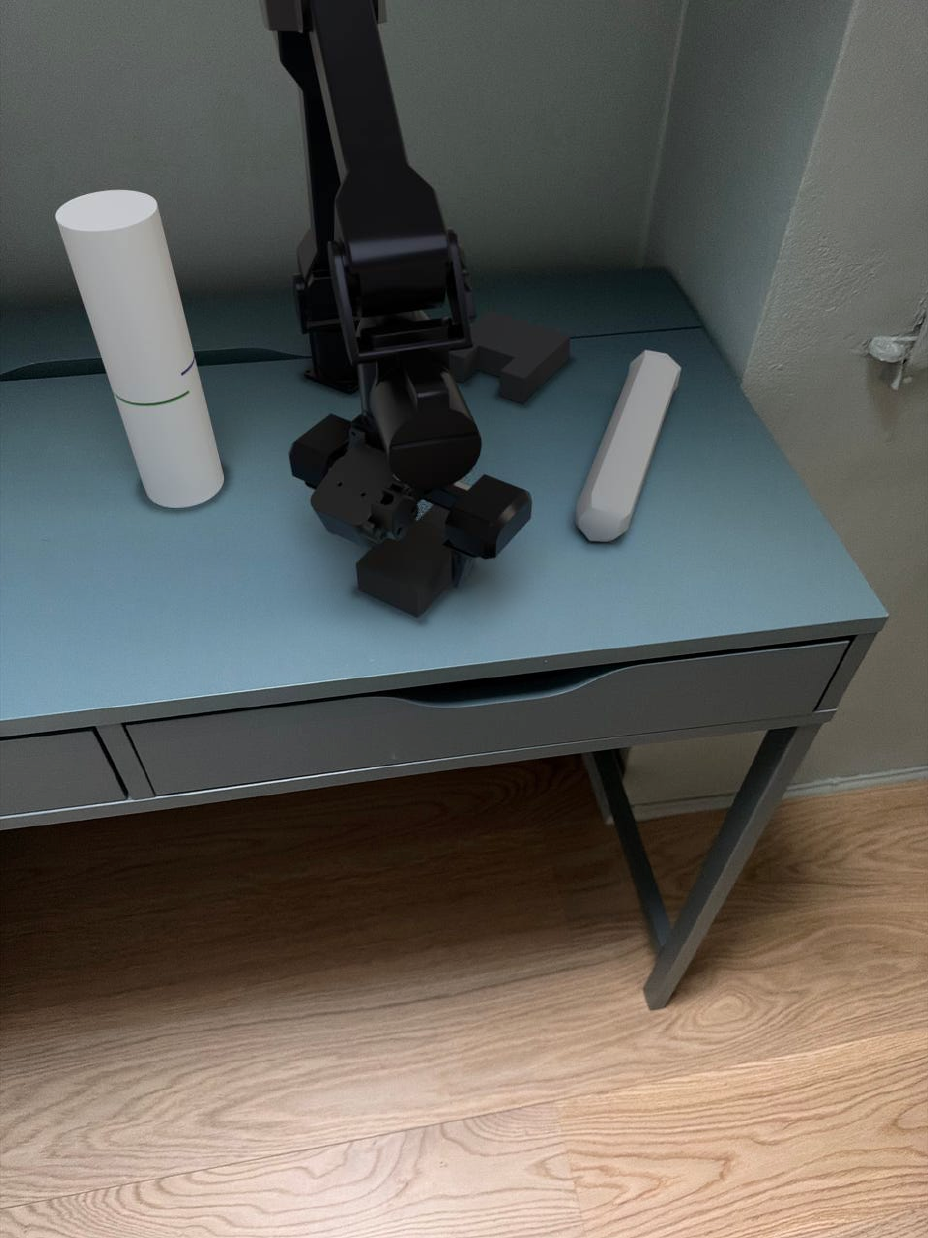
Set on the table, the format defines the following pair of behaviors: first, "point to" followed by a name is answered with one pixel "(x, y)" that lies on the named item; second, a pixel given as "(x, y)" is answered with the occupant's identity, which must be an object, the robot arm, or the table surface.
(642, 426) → the tube
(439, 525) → the pad
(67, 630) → the table surface
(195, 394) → the cylindrical container
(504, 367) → the notch pad
